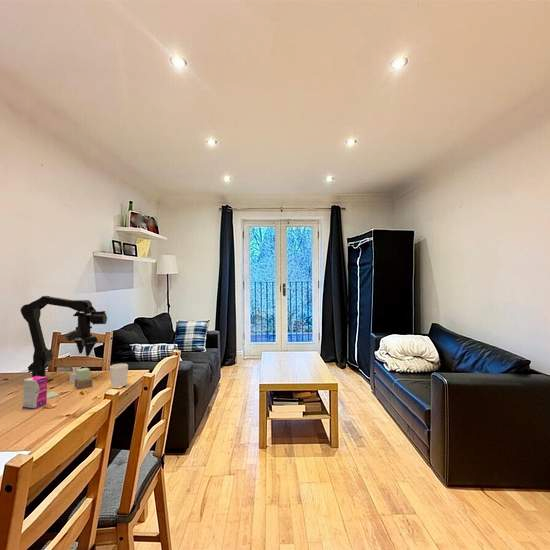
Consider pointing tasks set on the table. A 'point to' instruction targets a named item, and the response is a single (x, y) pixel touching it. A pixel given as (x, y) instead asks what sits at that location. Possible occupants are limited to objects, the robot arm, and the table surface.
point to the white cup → (118, 375)
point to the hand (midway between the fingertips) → (84, 354)
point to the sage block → (82, 374)
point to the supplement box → (34, 392)
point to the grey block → (72, 377)
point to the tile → (52, 395)
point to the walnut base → (83, 383)
